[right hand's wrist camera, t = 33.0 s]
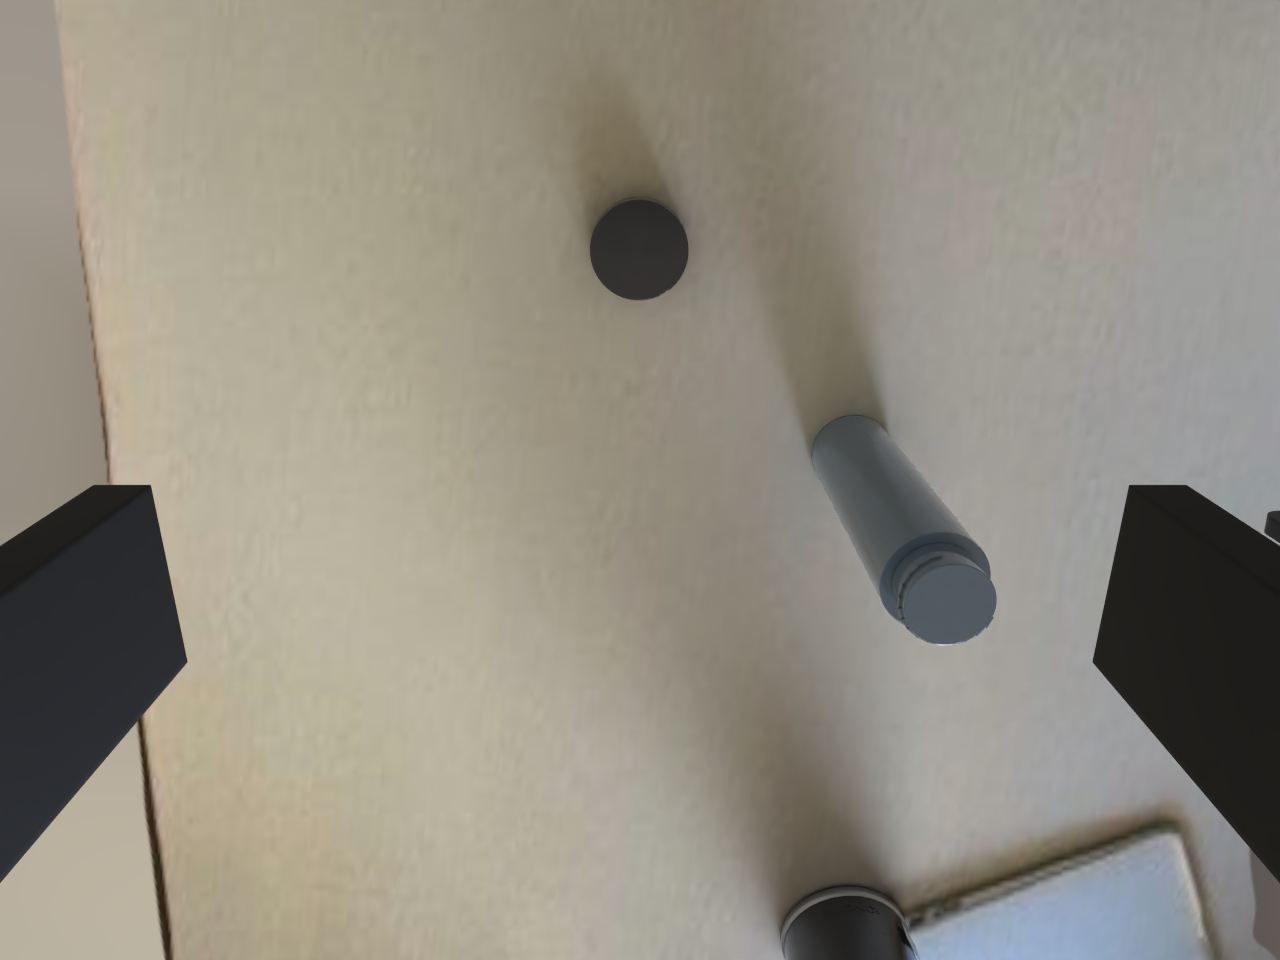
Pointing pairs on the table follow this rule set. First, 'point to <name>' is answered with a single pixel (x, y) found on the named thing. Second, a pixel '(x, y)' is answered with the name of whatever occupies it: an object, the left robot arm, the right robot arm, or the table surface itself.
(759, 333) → the table surface
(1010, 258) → the table surface
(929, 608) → the blue-grey bottle
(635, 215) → the lid
